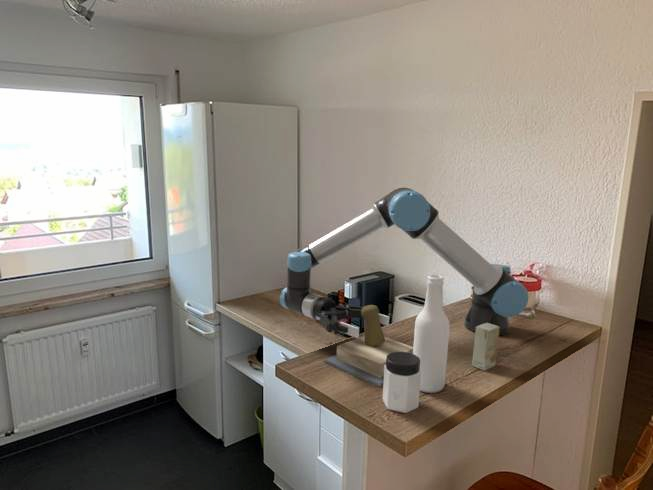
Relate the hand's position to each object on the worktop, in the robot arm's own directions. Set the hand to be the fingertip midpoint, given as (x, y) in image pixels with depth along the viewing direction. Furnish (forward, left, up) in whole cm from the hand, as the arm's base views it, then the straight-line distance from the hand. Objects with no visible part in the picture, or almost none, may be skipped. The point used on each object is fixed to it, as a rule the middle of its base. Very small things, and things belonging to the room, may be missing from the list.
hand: (373, 327), depth 139 cm
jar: (+11, +18, -12) cm, 24 cm away
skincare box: (-25, +22, -12) cm, 35 cm away
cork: (-5, -3, -7) cm, 9 cm away
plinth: (-3, -1, -12) cm, 13 cm away
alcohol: (-2, +17, -12) cm, 21 cm away
